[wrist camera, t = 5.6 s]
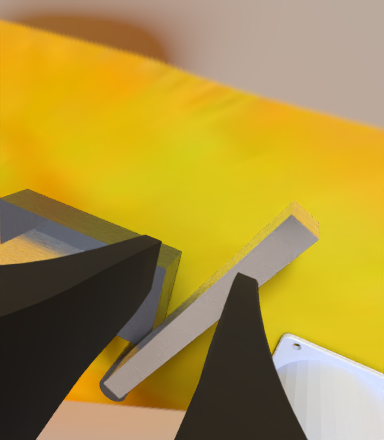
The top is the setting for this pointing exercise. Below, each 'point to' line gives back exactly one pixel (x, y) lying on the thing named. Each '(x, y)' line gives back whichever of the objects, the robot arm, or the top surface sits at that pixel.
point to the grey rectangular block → (34, 248)
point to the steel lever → (212, 299)
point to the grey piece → (90, 248)
